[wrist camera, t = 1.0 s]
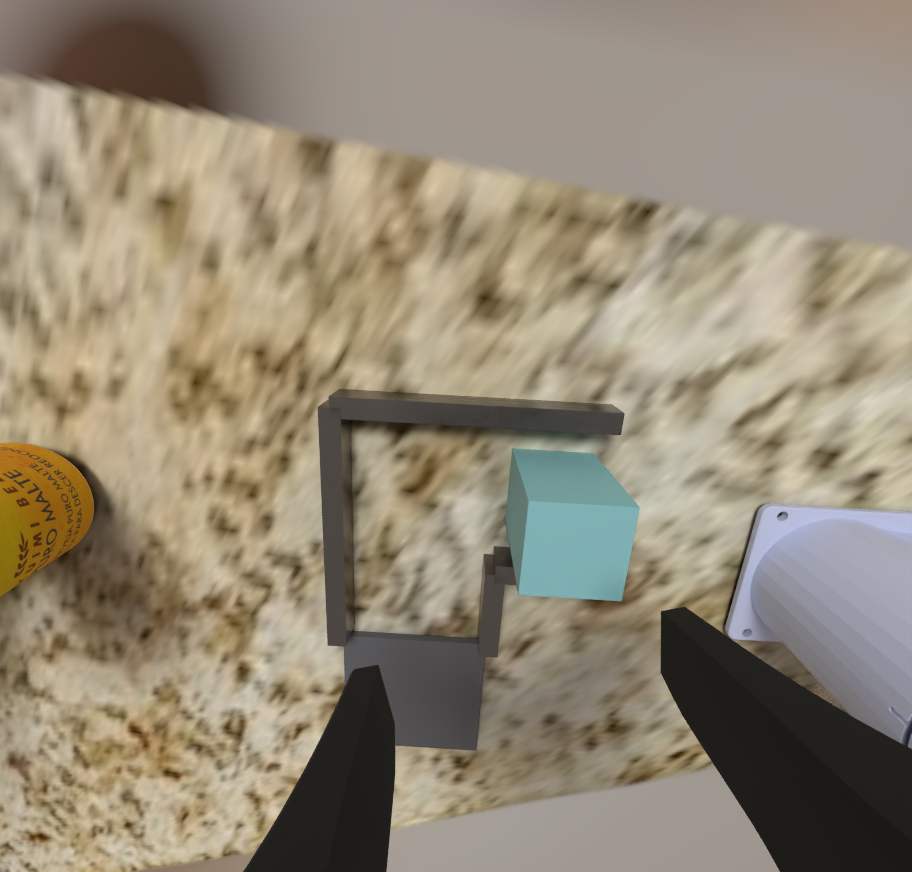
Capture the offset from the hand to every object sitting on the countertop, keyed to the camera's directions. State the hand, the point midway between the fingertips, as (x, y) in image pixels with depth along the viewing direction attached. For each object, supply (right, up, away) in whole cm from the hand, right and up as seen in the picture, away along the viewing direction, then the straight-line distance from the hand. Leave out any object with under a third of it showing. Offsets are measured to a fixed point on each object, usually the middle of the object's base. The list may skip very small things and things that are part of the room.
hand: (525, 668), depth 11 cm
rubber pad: (-4, -9, +15) cm, 18 cm away
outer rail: (-1, +1, +12) cm, 12 cm away
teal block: (+3, +3, +11) cm, 12 cm away
